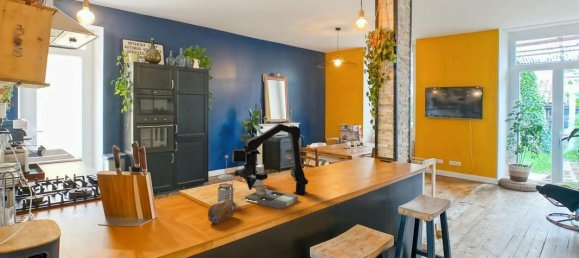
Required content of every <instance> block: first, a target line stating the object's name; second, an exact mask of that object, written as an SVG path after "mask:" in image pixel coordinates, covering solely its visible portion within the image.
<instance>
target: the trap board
mask: <svg viewBox="0 0 579 258" xmlns="http://www.w3.org/2000/svg"><path fill="white" fill-rule="evenodd" d="M274 194H276V195H274ZM244 198H245V199H248V200H252V201H257V202H258V204H257V205H261V206H265V207H269V208H274V209H278V210H282V208H283V209H285V208H286V207H288V206H290V205H292V204H294V203H295V202H297V201H298V200H299V195H298V194H292V193H286V192H281V191H277V190H276V191H275V190H270V189H267V188H266V194H264V195H259V194H256V191H255V192H252V193H251V194H248V195H245V196H244ZM245 199H244V200H245ZM263 199H265V200H263Z"/></svg>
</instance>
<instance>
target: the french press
mask: <svg viewBox="0 0 579 258" xmlns="http://www.w3.org/2000/svg"><path fill="white" fill-rule="evenodd" d="M224 158H225V159H226V162H225V165H226V168H225V174H221V175H219V176H218V177H217V178H218V180H220V181H229V182H231V183H227V182H225V183H220V184H219V185H218V188H217V202H221V201H224V200H232V201H233V202H234V191H235V189H236V187H234V182H236V180H235V177H234V176H233V175H232V174H228V173H227V170H228V169H227V168H228V166H227V165H228V158H230V157H229V155H227V154H226V155H224ZM233 181H234V182H233Z"/></svg>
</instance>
